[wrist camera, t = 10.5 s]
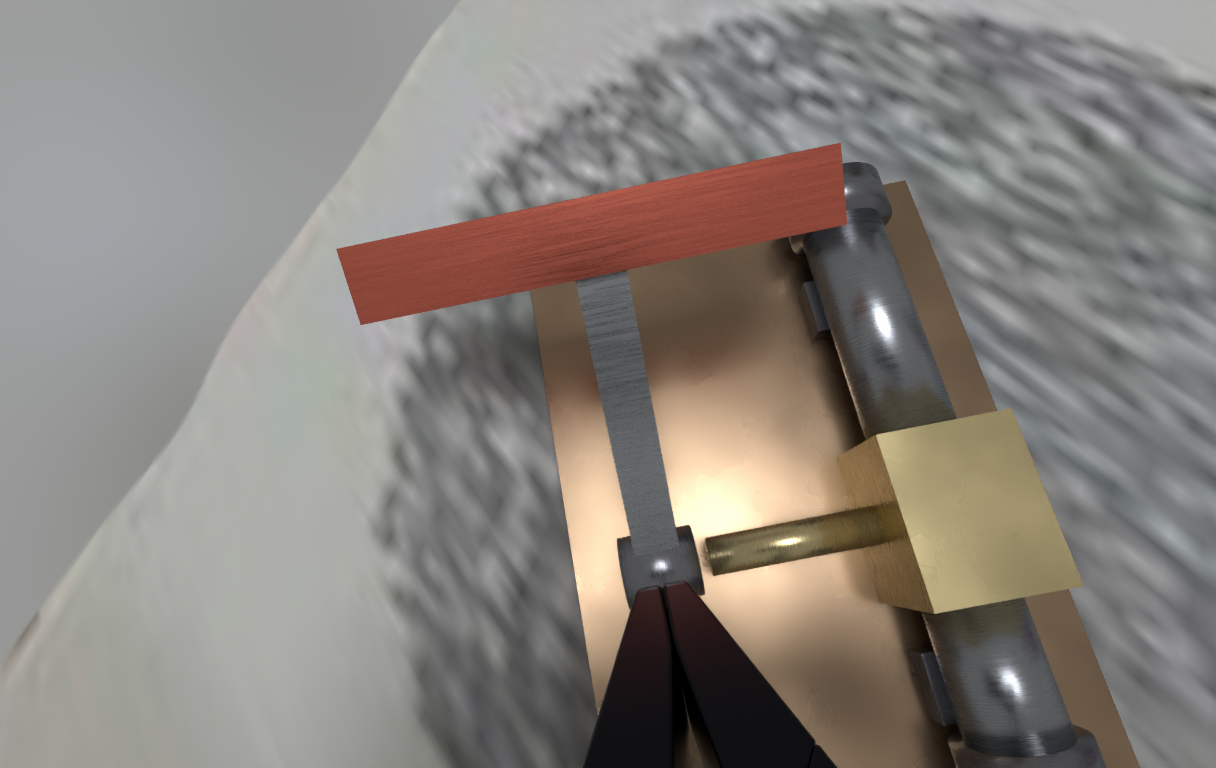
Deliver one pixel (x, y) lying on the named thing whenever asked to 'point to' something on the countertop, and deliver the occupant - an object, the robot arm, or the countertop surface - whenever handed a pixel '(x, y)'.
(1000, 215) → the countertop surface
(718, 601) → the valve on board
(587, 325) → the valve lever
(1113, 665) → the countertop surface
